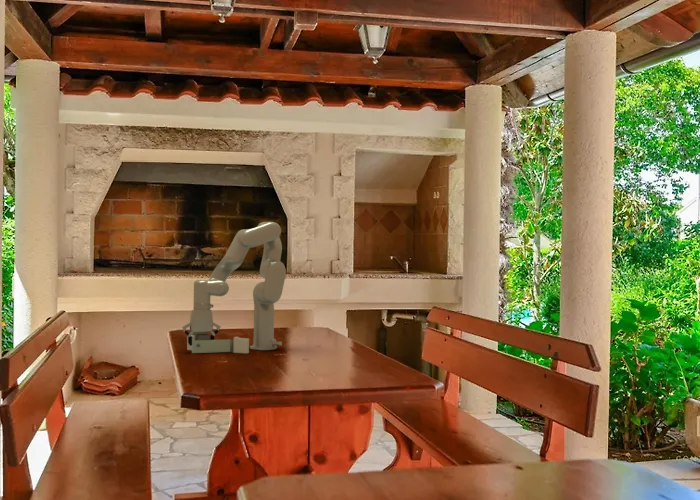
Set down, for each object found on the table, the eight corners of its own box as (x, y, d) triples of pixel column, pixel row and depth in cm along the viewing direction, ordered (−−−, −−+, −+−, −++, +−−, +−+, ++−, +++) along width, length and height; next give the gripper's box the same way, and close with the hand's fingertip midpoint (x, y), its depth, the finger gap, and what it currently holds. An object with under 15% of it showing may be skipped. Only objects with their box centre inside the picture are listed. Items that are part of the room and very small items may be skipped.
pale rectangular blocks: (249, 352, 345) (249, 337, 345) (247, 353, 342) (247, 338, 342) (189, 349, 352) (189, 334, 352) (186, 349, 349) (187, 334, 349)
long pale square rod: (232, 351, 346) (232, 339, 346) (233, 351, 344) (234, 339, 344) (191, 352, 339) (192, 340, 339) (192, 353, 337) (192, 341, 337)
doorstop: (206, 350, 349) (206, 333, 349) (209, 352, 342) (209, 335, 342) (195, 351, 347) (195, 333, 347) (198, 353, 340) (198, 335, 340)
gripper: (219, 306, 350) (218, 343, 351) (181, 306, 344) (180, 344, 344) (222, 307, 343) (221, 345, 344) (184, 308, 337) (183, 346, 337)
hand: (201, 344), depth 344 cm, fingers open, 9 cm apart
